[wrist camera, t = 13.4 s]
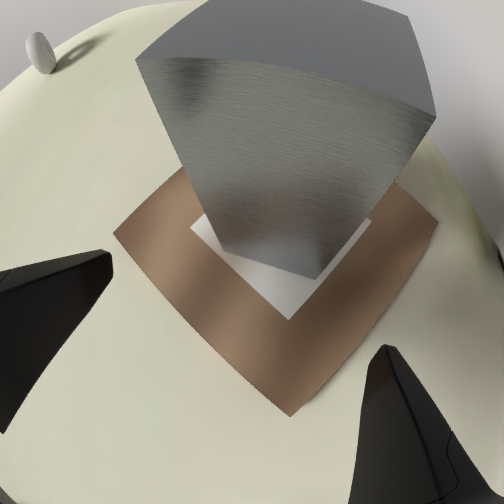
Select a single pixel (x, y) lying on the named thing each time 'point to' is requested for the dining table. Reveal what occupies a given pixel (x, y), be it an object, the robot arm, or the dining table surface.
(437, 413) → the robot arm
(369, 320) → the walnut board
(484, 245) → the dining table surface
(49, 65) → the donut
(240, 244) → the gray block
